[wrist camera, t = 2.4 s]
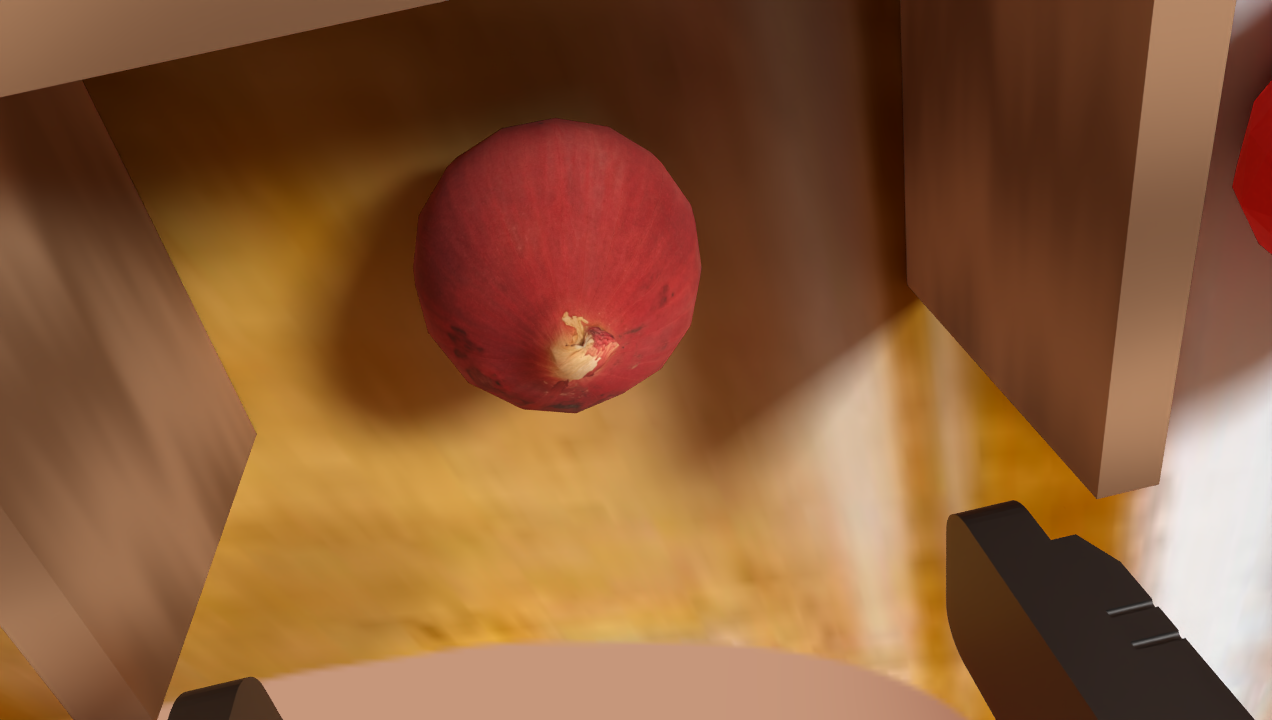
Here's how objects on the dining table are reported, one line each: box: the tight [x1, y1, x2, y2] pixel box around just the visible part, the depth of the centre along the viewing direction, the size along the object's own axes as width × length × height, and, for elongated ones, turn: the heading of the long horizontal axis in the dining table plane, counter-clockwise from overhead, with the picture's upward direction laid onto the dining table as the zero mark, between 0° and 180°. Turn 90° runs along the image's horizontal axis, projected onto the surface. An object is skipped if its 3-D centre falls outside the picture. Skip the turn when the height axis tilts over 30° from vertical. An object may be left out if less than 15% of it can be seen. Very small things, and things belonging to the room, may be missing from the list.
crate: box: [0, 0, 1236, 720], centre depth 18 cm, size 12×20×9 cm, turn 100°
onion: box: [413, 118, 701, 413], centre depth 19 cm, size 6×6×8 cm
